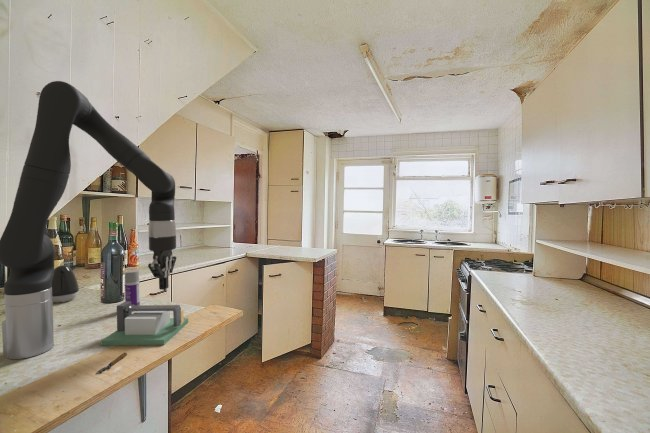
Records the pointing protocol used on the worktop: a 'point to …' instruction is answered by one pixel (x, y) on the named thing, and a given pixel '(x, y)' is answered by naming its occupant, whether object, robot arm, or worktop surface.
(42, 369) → the worktop surface
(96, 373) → the can opener
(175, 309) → the strap
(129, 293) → the container
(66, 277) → the black tall dome
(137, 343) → the cpu board
